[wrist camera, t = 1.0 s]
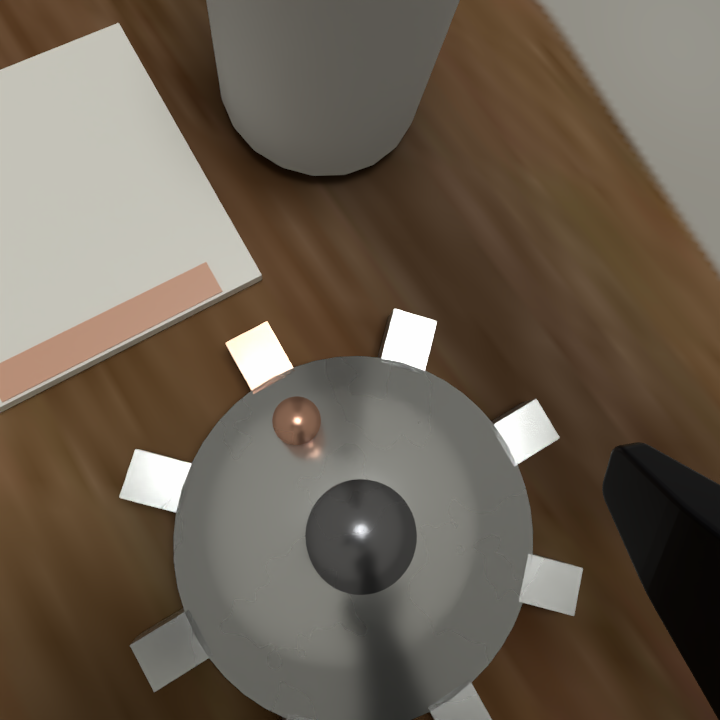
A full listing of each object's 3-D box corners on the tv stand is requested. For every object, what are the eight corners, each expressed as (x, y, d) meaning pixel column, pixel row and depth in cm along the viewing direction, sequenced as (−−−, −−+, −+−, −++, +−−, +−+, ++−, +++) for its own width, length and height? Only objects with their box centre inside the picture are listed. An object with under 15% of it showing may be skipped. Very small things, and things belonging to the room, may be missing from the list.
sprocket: (645, 607, 23) (676, 619, 21) (265, 879, 20) (264, 920, 18) (429, 243, 24) (441, 226, 22) (40, 447, 21) (19, 446, 19)
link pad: (261, 279, 23) (261, 274, 22) (-31, 428, 21) (-42, 427, 20) (122, 33, 24) (117, 20, 23) (-173, 152, 22) (-188, 142, 21)
